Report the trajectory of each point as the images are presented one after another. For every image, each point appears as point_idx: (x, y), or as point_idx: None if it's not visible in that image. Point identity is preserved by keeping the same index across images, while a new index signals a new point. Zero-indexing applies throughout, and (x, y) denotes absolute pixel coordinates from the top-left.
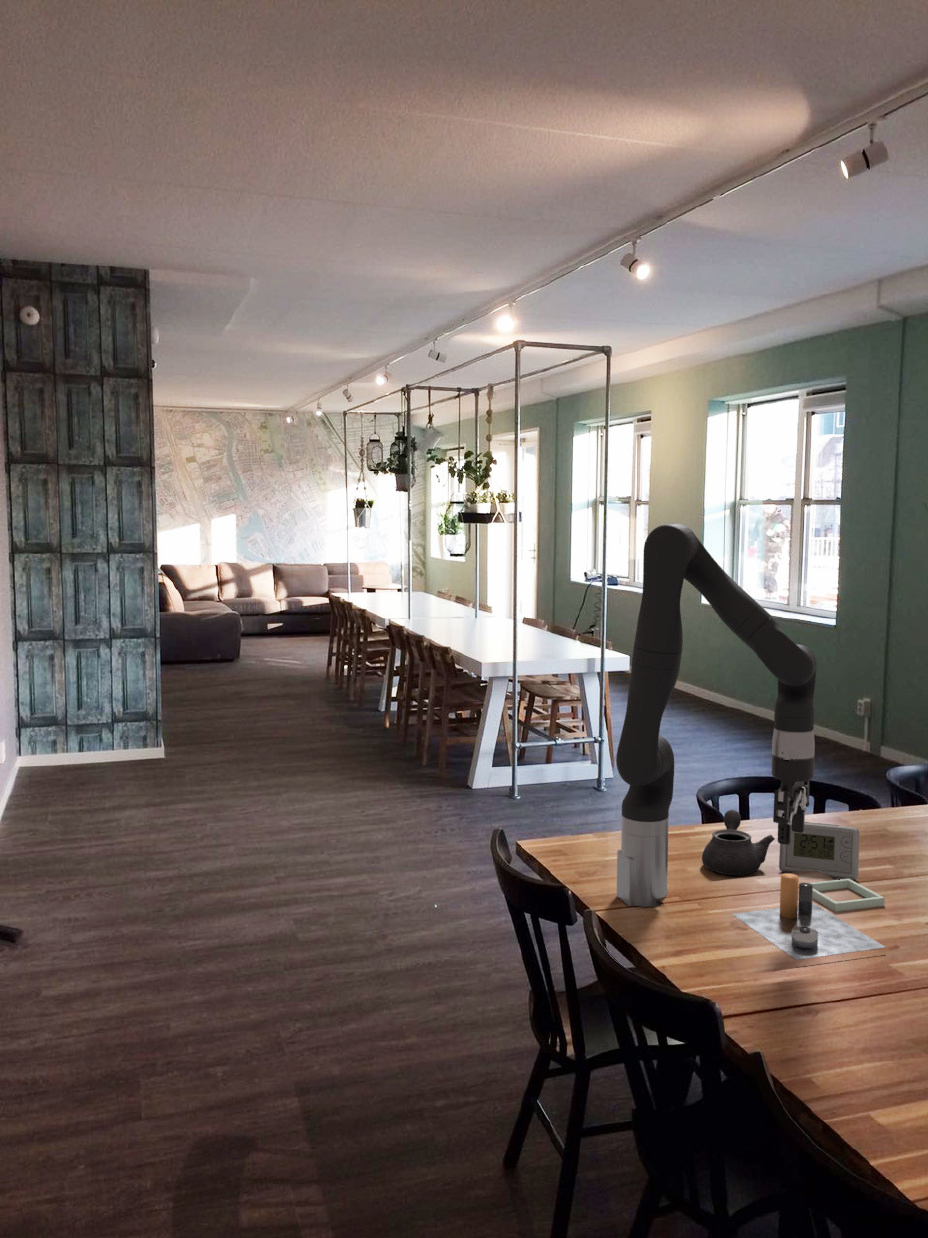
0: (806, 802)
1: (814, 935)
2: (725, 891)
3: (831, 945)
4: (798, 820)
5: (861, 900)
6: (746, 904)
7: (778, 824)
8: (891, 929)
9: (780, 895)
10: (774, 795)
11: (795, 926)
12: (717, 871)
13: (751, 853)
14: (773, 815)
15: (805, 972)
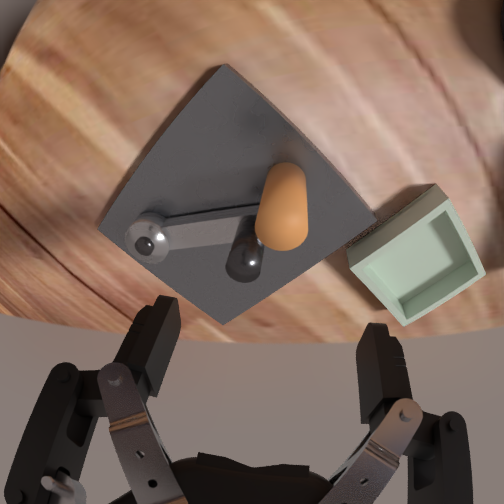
0: (409, 461)
1: (140, 259)
2: (418, 19)
3: (179, 266)
4: (366, 382)
5: (382, 302)
6: (357, 71)
7: (127, 361)
8: (332, 319)
9: (274, 182)
10: (8, 480)
11: (227, 203)
12: (502, 8)
13: None
14: (42, 389)
15: (102, 234)
